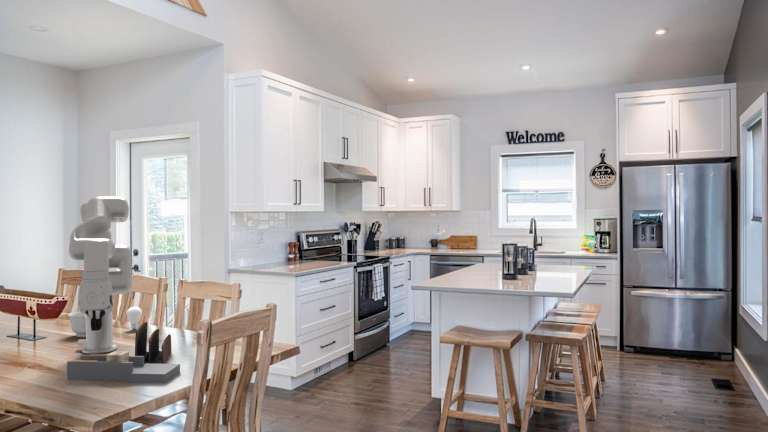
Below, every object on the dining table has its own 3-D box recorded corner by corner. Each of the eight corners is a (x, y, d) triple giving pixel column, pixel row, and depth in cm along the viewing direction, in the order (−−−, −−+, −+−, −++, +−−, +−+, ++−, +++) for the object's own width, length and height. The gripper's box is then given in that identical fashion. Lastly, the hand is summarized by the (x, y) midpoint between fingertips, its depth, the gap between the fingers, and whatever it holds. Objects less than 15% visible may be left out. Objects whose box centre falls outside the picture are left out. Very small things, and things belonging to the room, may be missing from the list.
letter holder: (134, 369, 197) (134, 329, 197) (144, 355, 217) (144, 319, 217) (163, 367, 200) (163, 328, 200) (171, 353, 219) (171, 318, 219)
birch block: (106, 369, 185) (106, 355, 185) (114, 365, 190) (114, 351, 190) (121, 370, 185) (121, 355, 185) (128, 365, 190) (128, 351, 190)
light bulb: (132, 331, 257) (132, 308, 257) (123, 330, 260) (123, 306, 260) (144, 329, 262) (144, 306, 262) (136, 327, 266) (136, 304, 266)
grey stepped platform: (63, 381, 183) (63, 362, 182) (85, 370, 195) (85, 352, 194) (164, 383, 181) (164, 364, 181) (180, 372, 193) (180, 354, 193)
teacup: (71, 341, 238) (71, 317, 238) (65, 334, 250) (65, 312, 250) (102, 337, 246) (102, 314, 246) (95, 331, 258) (95, 309, 257)
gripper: (68, 277, 184) (68, 332, 184) (111, 277, 184) (111, 332, 183) (81, 274, 192) (81, 327, 192) (123, 274, 191) (123, 328, 191)
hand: (96, 329), depth 188 cm, fingers closed
